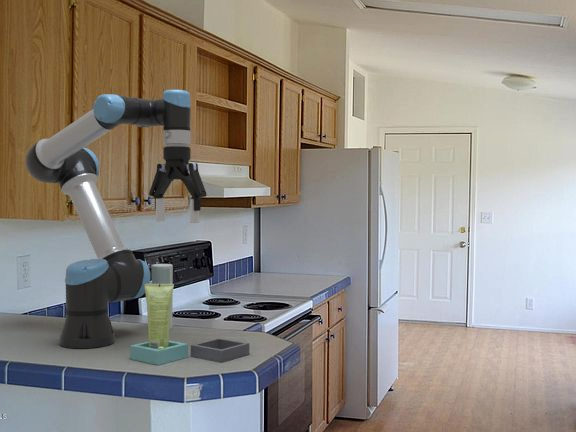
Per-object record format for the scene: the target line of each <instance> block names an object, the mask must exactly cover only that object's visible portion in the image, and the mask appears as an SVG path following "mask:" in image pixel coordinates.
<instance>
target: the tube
mask: <svg viewBox="0 0 576 432" xmlns="http://www.w3.org/2000/svg"><path fill="white" fill-rule="evenodd" d="M144 287H145V293H144V294H145V299H146V300H145V301H146V310H147V311H146V312H147V329H148V330H147V332H148V341H149V348H154V349H158V347H165V348H166V347H169V341H170V329H169V327H170V313H171V302H172V303H173V296H172V293H173V292H174V287H175V284H174V283H173V284H152V283H149V284H145V285H144Z"/></svg>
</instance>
